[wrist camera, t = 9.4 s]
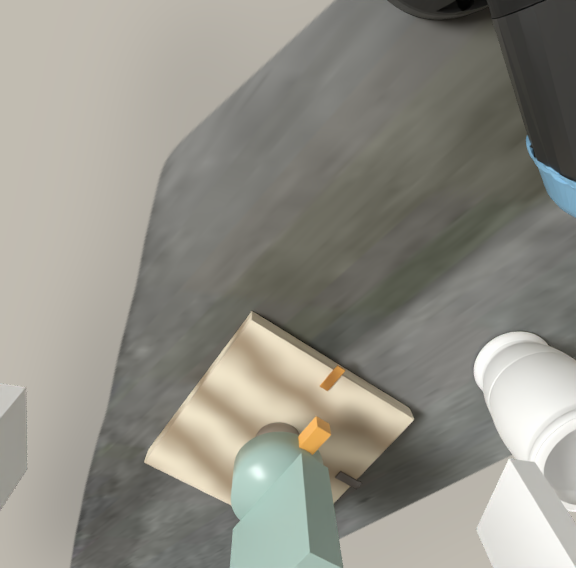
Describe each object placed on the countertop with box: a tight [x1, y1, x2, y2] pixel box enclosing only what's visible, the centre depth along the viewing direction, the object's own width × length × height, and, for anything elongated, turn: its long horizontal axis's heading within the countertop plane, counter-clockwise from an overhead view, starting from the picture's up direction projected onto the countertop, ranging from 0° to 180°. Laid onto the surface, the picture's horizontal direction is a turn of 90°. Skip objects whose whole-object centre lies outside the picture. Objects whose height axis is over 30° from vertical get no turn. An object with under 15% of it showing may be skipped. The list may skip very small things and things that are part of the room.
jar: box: [474, 331, 576, 512], centre depth 46 cm, size 11×10×15 cm
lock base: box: [144, 311, 414, 505], centre depth 52 cm, size 22×22×6 cm
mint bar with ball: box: [230, 416, 343, 568], centre depth 42 cm, size 9×13×14 cm
